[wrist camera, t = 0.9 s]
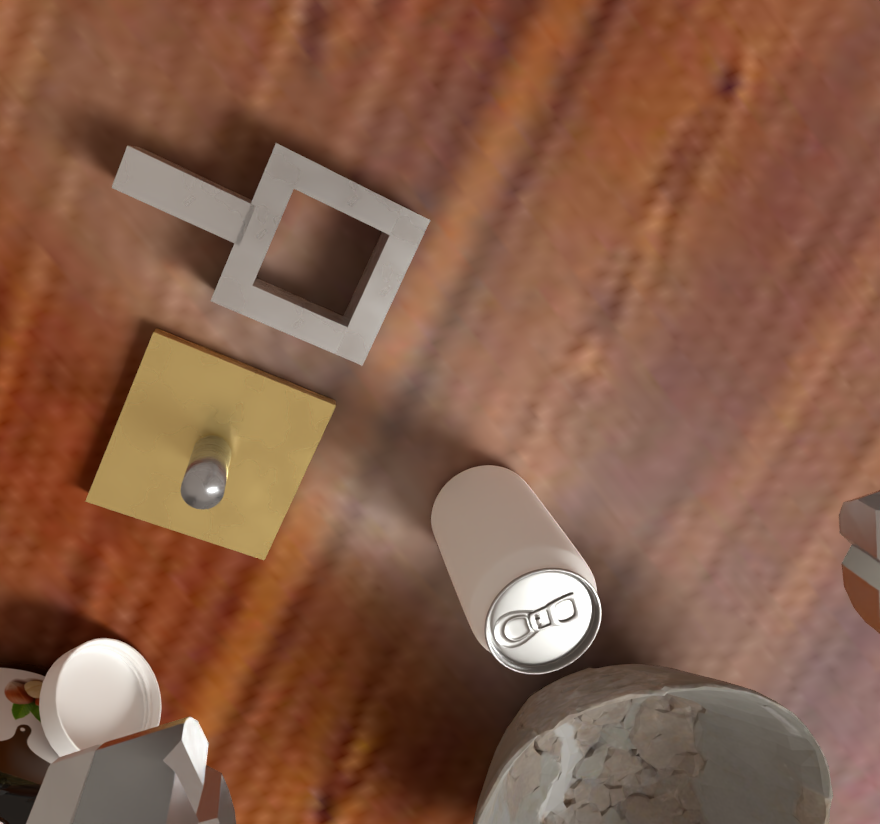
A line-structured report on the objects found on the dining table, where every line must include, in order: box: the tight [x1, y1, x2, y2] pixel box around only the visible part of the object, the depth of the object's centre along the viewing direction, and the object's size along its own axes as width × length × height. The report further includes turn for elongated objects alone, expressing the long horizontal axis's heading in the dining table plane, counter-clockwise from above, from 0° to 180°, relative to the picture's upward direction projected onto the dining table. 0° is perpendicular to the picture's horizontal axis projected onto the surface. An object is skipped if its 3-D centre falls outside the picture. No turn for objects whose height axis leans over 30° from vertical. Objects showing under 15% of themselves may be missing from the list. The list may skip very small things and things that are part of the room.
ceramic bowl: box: [473, 664, 833, 824], centre depth 48 cm, size 22×23×10 cm
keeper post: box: [86, 328, 336, 560], centre depth 39 cm, size 10×10×6 cm
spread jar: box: [0, 638, 161, 824], centre depth 39 cm, size 12×11×12 cm
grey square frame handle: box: [112, 143, 430, 365], centre depth 38 cm, size 14×8×3 cm, turn 63°
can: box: [431, 465, 601, 675], centre depth 41 cm, size 6×6×12 cm
